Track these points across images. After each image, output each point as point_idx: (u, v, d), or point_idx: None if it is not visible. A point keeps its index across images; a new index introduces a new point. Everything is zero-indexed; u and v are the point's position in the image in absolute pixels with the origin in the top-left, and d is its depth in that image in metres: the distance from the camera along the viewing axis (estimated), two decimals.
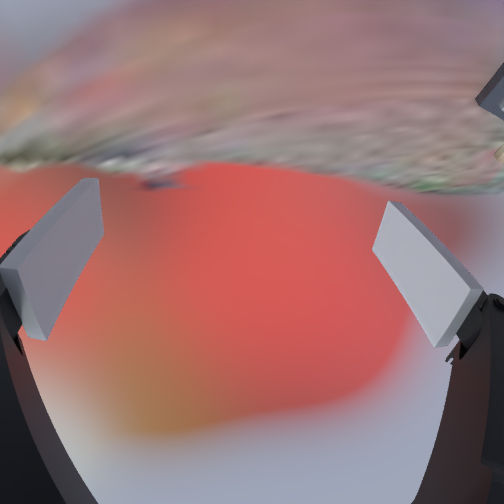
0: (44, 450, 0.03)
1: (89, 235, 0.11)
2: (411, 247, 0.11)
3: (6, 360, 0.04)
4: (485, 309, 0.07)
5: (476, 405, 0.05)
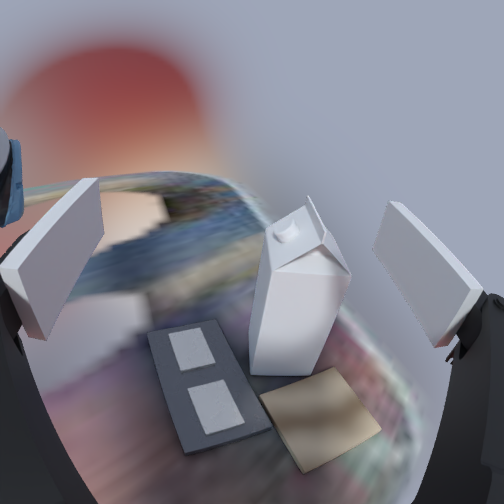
0: (44, 450, 0.03)
1: (89, 235, 0.11)
2: (411, 247, 0.11)
3: (6, 360, 0.04)
4: (485, 309, 0.07)
5: (477, 405, 0.05)
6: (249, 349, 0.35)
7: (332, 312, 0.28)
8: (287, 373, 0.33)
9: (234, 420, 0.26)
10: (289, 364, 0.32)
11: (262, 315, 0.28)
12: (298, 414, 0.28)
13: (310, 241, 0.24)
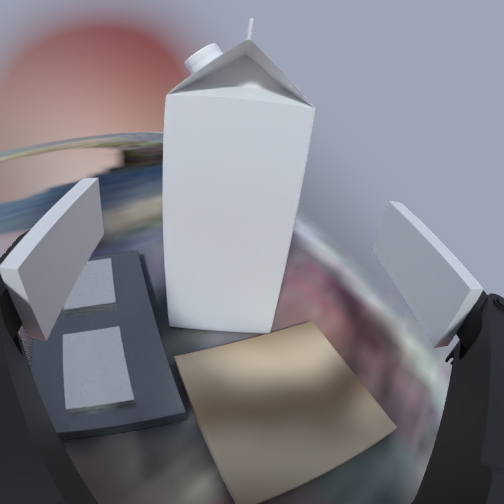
0: (44, 450, 0.03)
1: (89, 235, 0.11)
2: (411, 247, 0.11)
3: (6, 360, 0.04)
4: (485, 309, 0.07)
5: (476, 405, 0.05)
6: None
7: (290, 189, 0.15)
8: (229, 325, 0.20)
9: (117, 393, 0.14)
10: (229, 307, 0.19)
11: (163, 195, 0.15)
12: (239, 395, 0.16)
13: None
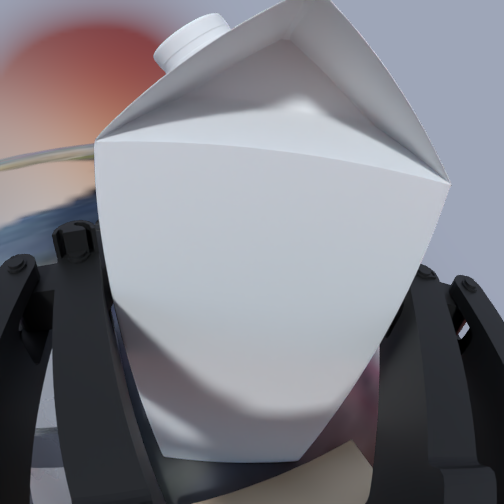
0: (132, 434, 0.04)
1: None
2: None
3: (108, 338, 0.05)
4: None
5: (413, 393, 0.05)
6: None
7: (369, 334, 0.07)
8: (244, 459, 0.12)
9: None
10: (245, 449, 0.12)
11: None
12: None
13: None
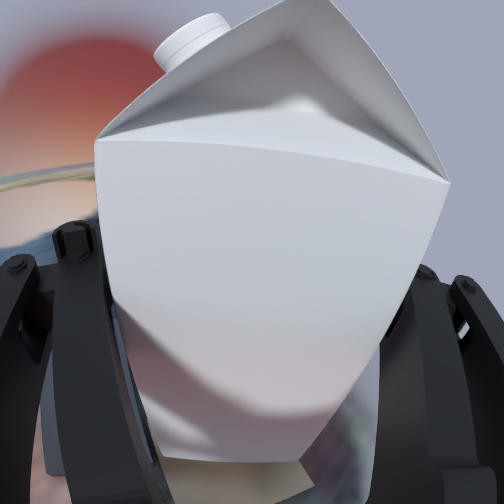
0: (132, 434, 0.04)
1: None
2: None
3: (108, 338, 0.05)
4: None
5: (413, 393, 0.05)
6: None
7: (368, 333, 0.07)
8: (244, 459, 0.13)
9: None
10: (245, 449, 0.12)
11: None
12: None
13: None
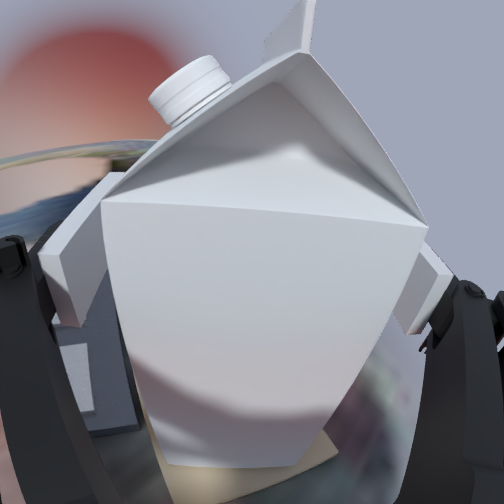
0: (76, 442, 0.04)
1: None
2: None
3: (43, 349, 0.05)
4: (456, 297, 0.08)
5: (454, 399, 0.05)
6: None
7: (353, 356, 0.08)
8: (243, 465, 0.13)
9: (80, 403, 0.15)
10: (244, 456, 0.12)
11: None
12: None
13: (254, 74, 0.05)
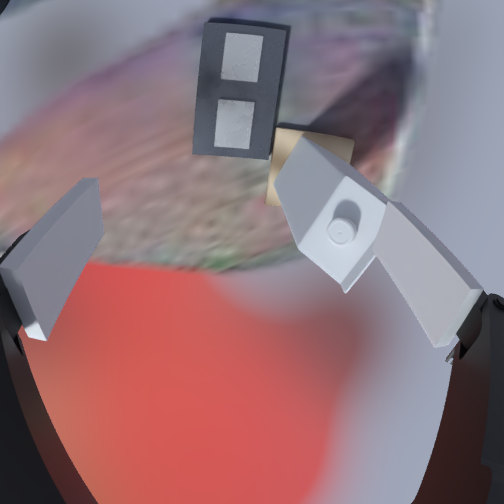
0: (44, 450, 0.03)
1: (89, 235, 0.11)
2: (411, 247, 0.11)
3: (6, 360, 0.04)
4: (485, 309, 0.07)
5: (476, 405, 0.05)
6: (287, 161, 0.35)
7: None
8: None
9: (242, 143, 0.34)
10: None
11: (287, 217, 0.29)
12: None
13: (340, 267, 0.23)
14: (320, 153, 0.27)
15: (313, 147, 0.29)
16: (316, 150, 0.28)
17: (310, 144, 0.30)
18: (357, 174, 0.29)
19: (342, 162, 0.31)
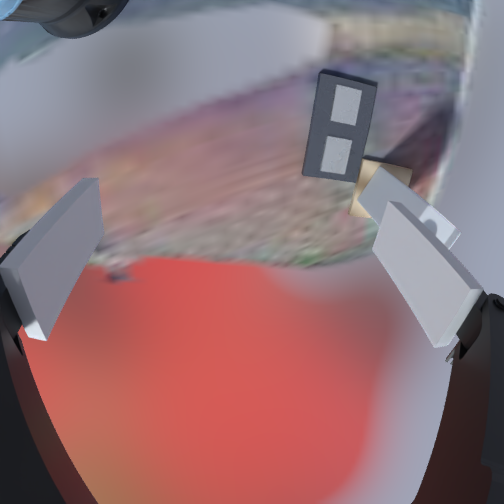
0: (44, 450, 0.03)
1: (89, 235, 0.11)
2: (411, 247, 0.11)
3: (6, 360, 0.04)
4: (485, 309, 0.07)
5: (476, 405, 0.05)
6: (369, 184, 0.46)
7: None
8: None
9: (340, 170, 0.45)
10: None
11: None
12: None
13: None
14: (403, 184, 0.38)
15: (395, 178, 0.40)
16: (399, 181, 0.39)
17: (391, 175, 0.41)
18: None
19: None
